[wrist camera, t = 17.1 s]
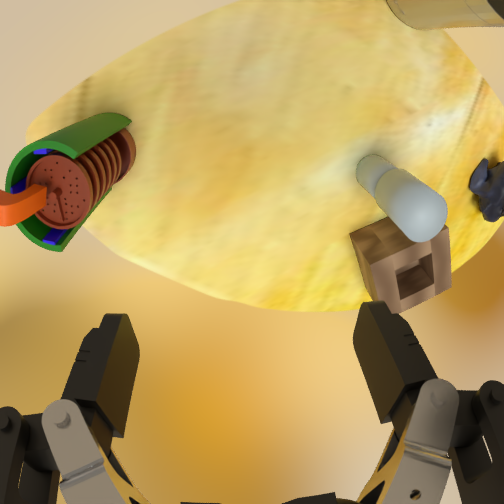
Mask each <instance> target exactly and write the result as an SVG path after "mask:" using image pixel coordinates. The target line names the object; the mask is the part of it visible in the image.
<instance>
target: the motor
mask: <svg viewBox="0 0 504 504" xmlns="http://www.w3.org/2000/svg"><path fill="white" fill-rule="evenodd" d="M131 122H132V121H131V120H130V119H128V118H127V117H125V116H123V115H120V114H116V113H102V114H98V115H95V116H93V117H90V118H88V119H85V120H83V121H80V122H78V123H75V124H73V125H70V126H68V127H66V128H64V129H61V130H59V131H57V132H55V133H52V134H50V135H48V136H46V137H44V138H42V139H40V140H37V141H35V142H33V143H31V144H29V145H28V146H26V147H24V148H23V149H22V150H21V151H20V152H19V153H18V154H17V155H16V156H15V158H14V159H13V161H12V163H11V165H10V167H9V169H8V173H7V177H6V184H5V191H2V190H0V226H12V225H14V224H16V225H17V226H18V228H19V229H20V230H21V232H22V233H23V234H24V235H25V236H26V237H27V238H28V239H29V240H31V241H32V242H33V243H35V244H37V245H38V246H40V247H42V248H45V249H47V250H51V251H57V252H62V251H63V250H64V248H65V247H66V246H67V244H68V243H69V241H70V240H71V239H72V238H73V236H74V235H75V234H76V232H77V231H78V229H79V228H80V227H81V226H82V225H83V223H84V222H85V221H86V220H87V218H88V217H89V216H90V215H91V213H92V212H93V211H94V210H95V208H96V207H97V206H98V205H99V204H100V202H101V201H102V200H103V199H104V198H105V196H106V195H107V194H108V193H109V192H110V191H111V189H112V185H113V184H115V183H117V182H118V181H120V180H121V179H122V178H123V177H124V176H125V175H126V174H127V173H128V171H129V170H130V169H131V167H132V166H133V163H134V161H135V156H136V147H135V143H134V140H133V138H132V136H131V134H130V133H129V132H128V131H127V130H126V129H125V127H126V126H128V125H129V124H130V123H131Z"/></svg>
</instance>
